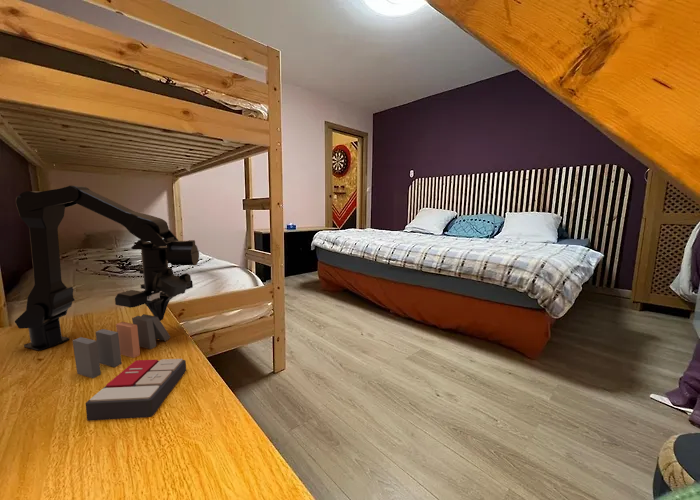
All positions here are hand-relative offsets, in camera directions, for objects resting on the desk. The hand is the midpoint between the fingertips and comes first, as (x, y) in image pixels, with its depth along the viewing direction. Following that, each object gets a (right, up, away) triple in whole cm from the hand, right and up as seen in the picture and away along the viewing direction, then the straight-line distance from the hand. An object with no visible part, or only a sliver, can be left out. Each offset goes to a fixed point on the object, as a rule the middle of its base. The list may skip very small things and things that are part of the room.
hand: (160, 320), depth 82 cm
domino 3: (-3, -7, -8) cm, 11 cm away
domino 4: (-1, -6, -3) cm, 7 cm away
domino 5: (0, -5, +1) cm, 5 cm away
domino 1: (-6, -8, -16) cm, 19 cm away
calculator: (+10, -10, -21) cm, 26 cm away
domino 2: (-4, -7, -12) cm, 15 cm away
